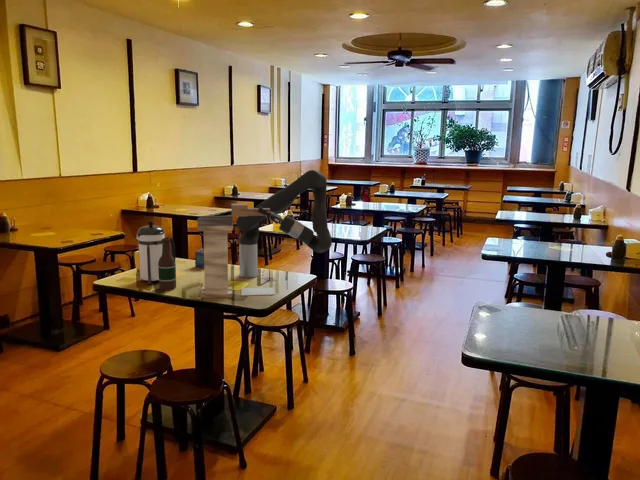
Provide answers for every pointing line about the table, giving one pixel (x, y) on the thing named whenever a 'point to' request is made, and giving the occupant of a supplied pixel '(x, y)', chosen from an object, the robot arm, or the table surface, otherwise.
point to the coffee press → (151, 251)
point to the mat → (256, 291)
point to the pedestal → (215, 255)
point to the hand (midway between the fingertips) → (258, 208)
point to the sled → (245, 210)
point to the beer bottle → (166, 267)
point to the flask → (199, 258)
